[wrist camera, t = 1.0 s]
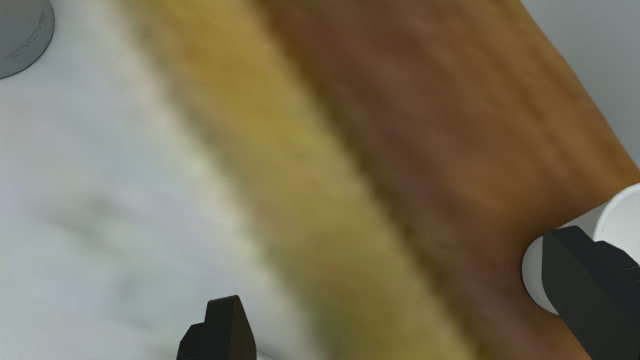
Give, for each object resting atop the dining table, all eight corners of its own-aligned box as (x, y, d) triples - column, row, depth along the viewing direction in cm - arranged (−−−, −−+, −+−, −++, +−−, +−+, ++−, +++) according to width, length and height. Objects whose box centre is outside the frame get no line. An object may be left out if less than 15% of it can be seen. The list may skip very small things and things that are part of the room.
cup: (505, 344, 36) (612, 365, 26) (487, 213, 38) (579, 182, 28) (624, 335, 38) (771, 351, 27) (600, 209, 40) (728, 178, 29)
